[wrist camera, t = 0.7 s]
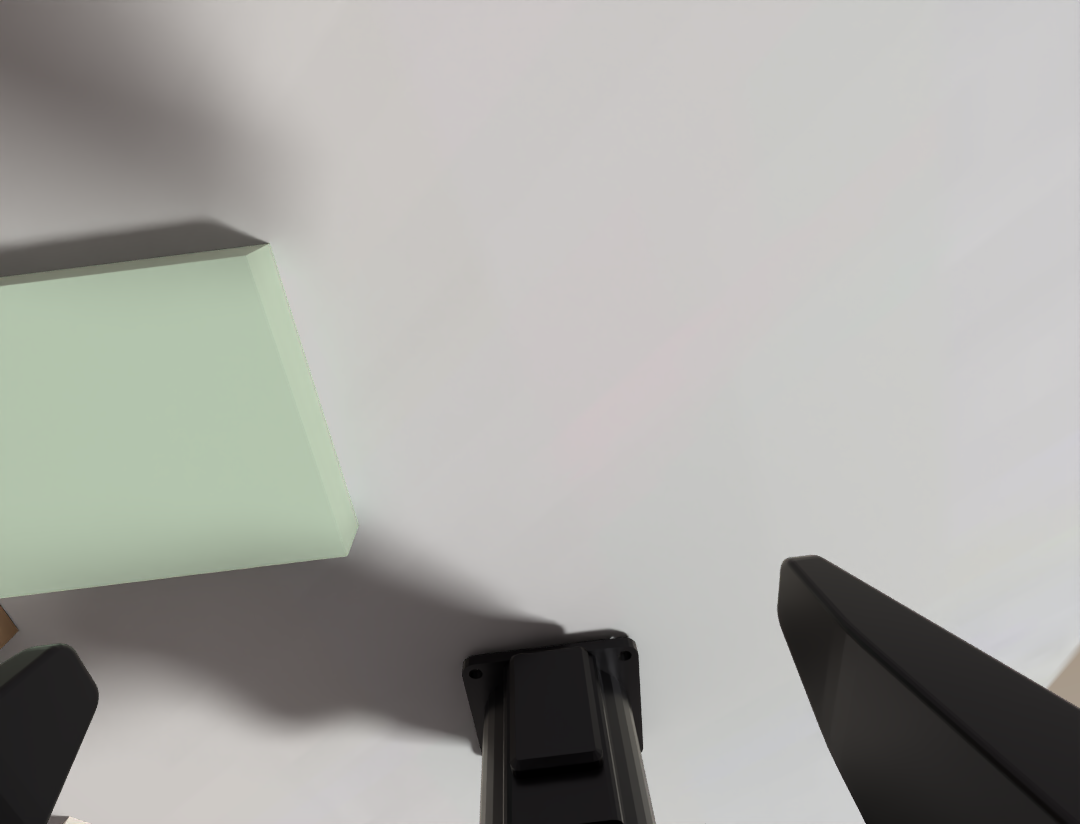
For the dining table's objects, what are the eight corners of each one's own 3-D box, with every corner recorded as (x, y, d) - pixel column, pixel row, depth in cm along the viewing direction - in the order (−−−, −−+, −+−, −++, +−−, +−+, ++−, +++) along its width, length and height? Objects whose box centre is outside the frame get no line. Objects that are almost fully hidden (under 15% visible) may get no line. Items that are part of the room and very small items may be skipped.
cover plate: (362, 515, 19) (347, 556, 18) (35, 555, 19) (-13, 600, 18) (276, 239, 15) (245, 255, 13) (-137, 291, 15) (-222, 314, 14)
